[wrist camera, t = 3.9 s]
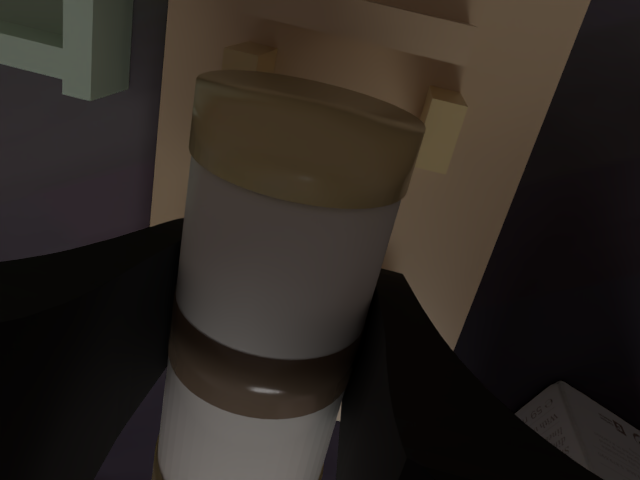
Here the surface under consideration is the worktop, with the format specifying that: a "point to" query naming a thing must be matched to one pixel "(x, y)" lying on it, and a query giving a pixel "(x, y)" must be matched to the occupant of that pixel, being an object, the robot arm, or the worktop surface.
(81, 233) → the worktop surface
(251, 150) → the fuse
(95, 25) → the parts tray
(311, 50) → the fuse holder
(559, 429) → the skincare box
